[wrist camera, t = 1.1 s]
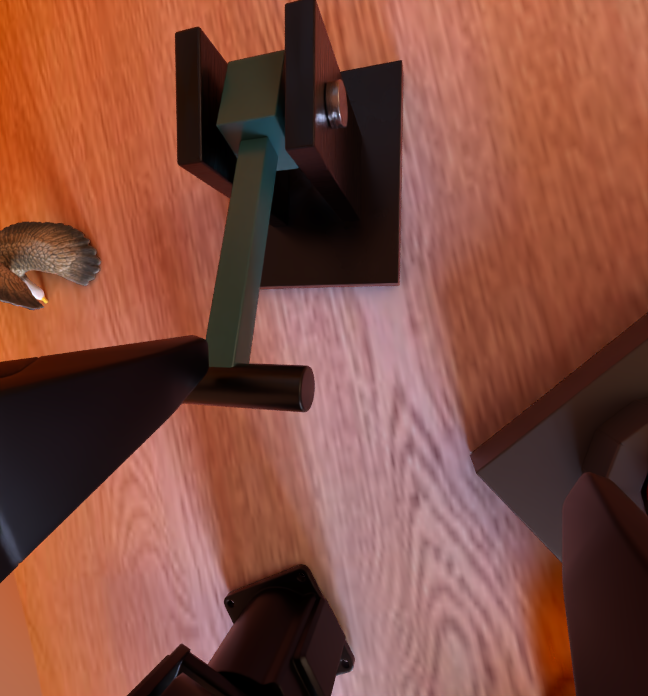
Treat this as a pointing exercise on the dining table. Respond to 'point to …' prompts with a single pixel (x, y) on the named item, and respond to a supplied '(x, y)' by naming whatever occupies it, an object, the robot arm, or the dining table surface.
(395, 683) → the dining table surface
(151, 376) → the robot arm
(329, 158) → the bracket
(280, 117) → the lever
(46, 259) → the eagle figurine
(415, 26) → the dining table surface
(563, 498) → the button box
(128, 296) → the dining table surface
